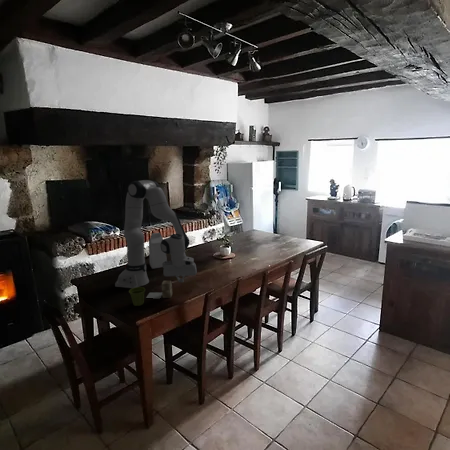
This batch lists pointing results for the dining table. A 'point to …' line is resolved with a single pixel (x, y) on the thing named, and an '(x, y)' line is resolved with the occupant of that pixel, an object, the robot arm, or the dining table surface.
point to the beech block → (167, 289)
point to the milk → (156, 251)
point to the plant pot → (137, 295)
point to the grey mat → (154, 295)
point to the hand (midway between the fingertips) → (181, 281)
